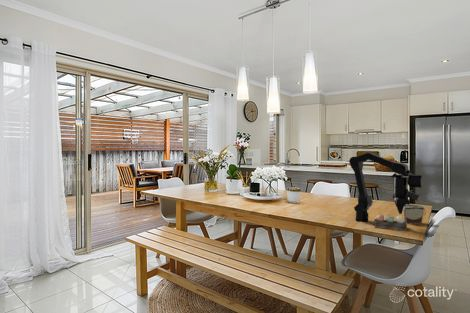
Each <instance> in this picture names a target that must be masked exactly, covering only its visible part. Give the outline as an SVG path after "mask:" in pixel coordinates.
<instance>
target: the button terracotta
mask: <svg viewBox="0 0 470 313" xmlns="http://www.w3.org/2000/svg"><path fill="white" fill-rule="evenodd" d="M376 219H377V221H378V222H384V220H385V216H384V215H382V214H377V215H376Z"/></svg>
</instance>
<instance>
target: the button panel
mask: <svg viewBox="0 0 470 313" xmlns="http://www.w3.org/2000/svg"><path fill="white" fill-rule="evenodd" d="M374 228H375V229H386V230H394V231H395V230H396V231H404V232H408V223H407V224H406V223H405V221H404V224H398V223H396V220H394V223H388V222H386V219H384V222H378V221H377V218H374Z"/></svg>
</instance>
